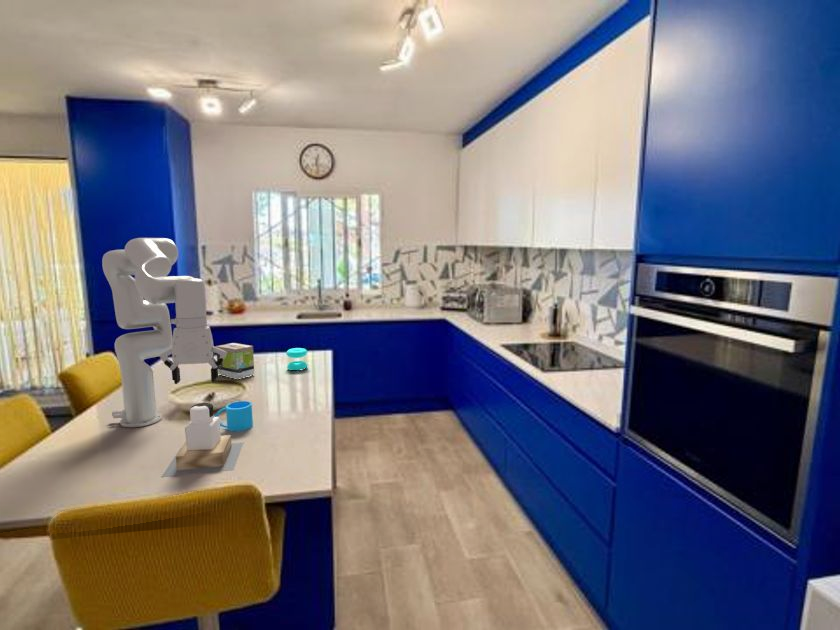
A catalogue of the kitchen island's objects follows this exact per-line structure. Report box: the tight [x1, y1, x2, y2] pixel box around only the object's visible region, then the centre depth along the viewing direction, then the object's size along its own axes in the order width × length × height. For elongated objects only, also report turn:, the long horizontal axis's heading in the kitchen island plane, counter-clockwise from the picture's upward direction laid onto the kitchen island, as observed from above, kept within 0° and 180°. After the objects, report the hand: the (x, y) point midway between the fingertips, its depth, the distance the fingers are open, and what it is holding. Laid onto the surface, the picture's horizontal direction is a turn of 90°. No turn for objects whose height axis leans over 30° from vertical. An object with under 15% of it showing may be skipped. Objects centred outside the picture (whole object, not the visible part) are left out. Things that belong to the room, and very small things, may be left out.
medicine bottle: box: [184, 402, 222, 451], centre depth 129 cm, size 7×7×12 cm
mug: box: [214, 400, 254, 432], centre depth 153 cm, size 12×8×8 cm
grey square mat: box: [161, 442, 244, 478], centre depth 131 cm, size 18×18×1 cm
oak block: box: [175, 434, 232, 470], centre depth 130 cm, size 12×12×4 cm
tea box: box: [215, 342, 255, 379], centre depth 215 cm, size 15×10×15 cm, turn 58°
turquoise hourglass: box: [285, 347, 309, 371], centre depth 227 cm, size 10×10×10 cm
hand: (195, 381), depth 129 cm, fingers open, 9 cm apart
